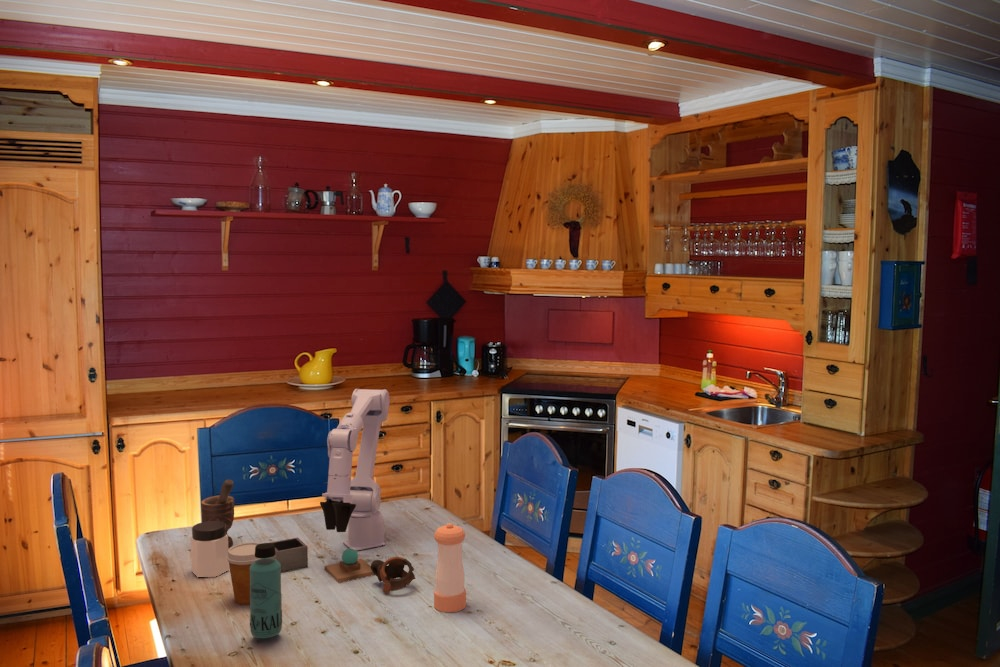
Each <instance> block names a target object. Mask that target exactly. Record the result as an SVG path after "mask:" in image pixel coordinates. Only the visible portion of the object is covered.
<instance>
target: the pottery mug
mask: <svg viewBox="0 0 1000 667" xmlns="http://www.w3.org/2000/svg"><path fill="white" fill-rule="evenodd" d="M405 566H407V567H408V571H406V570H405ZM370 567H371V570H372V572H373V573H374V574H375V575H374V576H376V577H377V579H378V582H379V583H381V582H382V583H383V587H382V592H383V593H384V594H386V595H389V594H390V592H394V591H398V590H402V589H403V588H406V587H407V586H409V585H410V584H411V583H412V581H413V580H415V579H416V575H415V573H414V571H415V568H414V566H413V565H412V563H411V562H410V560H408V559H407V558H404V557H401V556H394V557H393V556H392V557H390V558H388V559H387V560H385V561H383V560H381V559H374V560H373V561H372V562H371V564H370Z"/></svg>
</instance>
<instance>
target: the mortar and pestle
mask: <svg viewBox="0 0 1000 667" xmlns="http://www.w3.org/2000/svg"><path fill="white" fill-rule="evenodd" d="M233 488H234V481H233V480H232V479H226V480H224V481H223V483H222V485H221V489H220V494H219V495H215V496H214V495H213V496H209V497H206V498H204V499H203V500H201V502H200V503H201V504H200V505H201V519H202V520H201V521H202V522H207V521H221V522H224V523H225V524H226V528H227V531H226V534H227V535H228V531H229V530H230V529H231V528H232V526H233V523H234V519H235V498H234V497H233V496H230V494H231V492H232V491H233ZM233 540H234V539H233V538H232V537H231V536H230V535H228V549H230V548H231V547H233V546H234V545H233V544H234V541H233Z"/></svg>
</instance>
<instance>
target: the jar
mask: <svg viewBox="0 0 1000 667" xmlns="http://www.w3.org/2000/svg"><path fill="white" fill-rule="evenodd" d="M226 531H227V528H226V524H225V523H224V522H221V521H207V522H203V521H202V522H199V523H196V524H194V525H193V526H192V528H191V534H192V536H191V537H190V550H191V551H190V553H191V554H190V555H191V557H190V558H191V573H192V572H193V573H194V574H195V575H196V576H197V577H196V578H198V577H208V578H217V577H219V576H221V575H223V574H224V572H225V573H227V572H229V571H230V567H229V562H228V560H227V558H226V556H227V554H228V550H229V548H228V536H229V534H228V533H227V534H226ZM227 532H228V531H227ZM226 571H227V572H226ZM193 573H192V574H193ZM222 573H223V574H222ZM194 574H193V575H194ZM195 575H194V576H195ZM216 576H217V577H216Z"/></svg>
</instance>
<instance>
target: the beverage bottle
mask: <svg viewBox="0 0 1000 667" xmlns="http://www.w3.org/2000/svg"><path fill="white" fill-rule="evenodd" d="M261 543H262V544H258V545H256V547H255V557H256V558H261V559H258V560H256V561H255V562H254V563H253V564H252V565H251V566H250V601H249V603H250V604H248V606H249V608H250V610H249V629H250V634H251V636H252V637H253V638H256V639H257V638H258V639H268V638H269V639H270V638H272V637H275V636H277V635H279V634H280V633H281V631H282V629H283V609H282V606H283V603H282V600H283V599H282V577H281V576H282V573H281V564H280V563H279V562H278V561H277V560H275V559H274V558H269V557H273V556H274V555H275V554H276V551H275V545H274V544H273V543H270V542H261Z"/></svg>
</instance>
